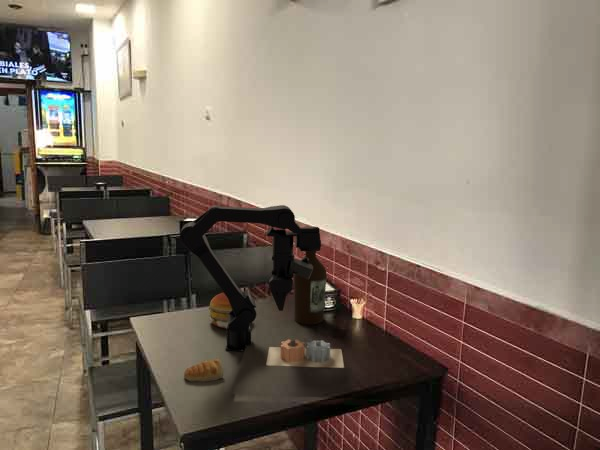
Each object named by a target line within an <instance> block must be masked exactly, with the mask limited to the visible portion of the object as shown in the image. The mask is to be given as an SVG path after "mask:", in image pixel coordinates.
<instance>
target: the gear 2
mask: <svg viewBox="0 0 600 450" xmlns="http://www.w3.org/2000/svg"><path fill="white" fill-rule="evenodd" d="M305 348H306V359H307V360H311V361H312V362H314V363H315V362H321V363H324V361H326V360H330V349H331V343H330V342H325V340H311V341H310V342H309V341H307V342H306V347H305Z"/></svg>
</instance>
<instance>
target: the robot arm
mask: <svg viewBox="0 0 600 450" xmlns="http://www.w3.org/2000/svg"><path fill="white" fill-rule="evenodd" d="M295 216H296V215H295V213H294V212H293V210H292V209H291V207H288V206H287V205H285V204H282V205H280V204H279V205H272V206H267V207H262V208H259V207H258V208H257V207H256V208H255V207H240V206H239V207H237V206H222V205H221V206H219V205H218V204H215V205H211V206H210V207H209V208H208V209H207V210H206V211H205V212H204V213H203V214H201V215H199V216H198V218H196V219H195V220H193V221H191V222H187V223H185V224H184V225H183V226H182V228H181V231H180V232H179V241H180V244H181V245H182V246H184V247H185V248H186V249H187V251H189V252H190V253H191V254H193V255H194V256H195V257H197V258H198V259H199V260H200V262H201V263H202V265H203V266H204V267H205V269H206V270H207V272H208V273H209V275H210V276H211V278H212V279H213V281H215V283H216V284H217V285H218V287H219V289H220V291H222V293H224V294H225V295H226V297H227V298H228V300H229V303H230V305H231V308H232V311H231V312H230V313H228V325H227V329H226V346H225V351H237V352H238V351H241V352H245V351H246V347H247V346H251V345H252V343H253V329H251V324H252V323H253V322H254V321H255V319H257V314H258V313H257V309H256V308H257V304H256V298H254V297H253V296H252V295H251V294H250V291H249V289H247V288H246V289H245V290H242V289H241V288H239V287H238V285H237V284H236V282H235V281H234V280H233V278H232V277H231V275H230V274H229V273H228V271H227V270H226V268H225V266H224V265H223V264H222V263H221V261H220V260H219V258H218V257H217V255H216V254H215V253H214V252H213V250H212V248H211V246H210V243H209V241H208V238H207V237H206V233H208V231H210V230H211V228H213V226H215V224H217V223H218V222H224V223H226V222H227V223H244V224H245V223H246V224H247V223H248V224H260V225H264V226H268V227H270V228H269V229H268V230H267V231H265V234H266V236H267V237H272V255H271V261H272V263H271V264H272V265H271V267H272V269H271V275H272V276H271V278H269V282H268V290H269V291H270V293H271V295H272V297H273V300H274V301H275V302H274V303H275V304H276V306H277V309H278V311H280V312H283V311H284V307H285V303H286V299H287V295H288V294H289V293H291V292H292V291H293V289H294V273H295V274H297V275H299V276H302V277H304V278H305V279H309V278H310V276H311V273H312V271H313V266H312V264H309V259H308V258H306V257H305V256H303V257H302V258H301V259H297V258H295V254H294V248H295V249H296V248H298V250H299V252H306V251H316V252H320V251H321V249H322V248H321V247H322V240H321V235H320V234H321V233H320V228H319V227H318V226H311V227H310V226H309V227H307V226H303V227H302V226H300V225H299V223H298V222H296V217H295ZM287 230H288V231H287ZM294 246H295V247H294Z"/></svg>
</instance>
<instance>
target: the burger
mask: <svg viewBox="0 0 600 450" xmlns="http://www.w3.org/2000/svg"><path fill="white" fill-rule="evenodd" d="M208 310H210V312H209V316H208V317H209V318H208V319H209V322H211V323H212V324H213V325H214V326H216V327H218V328H222V329H223V328H224V329H226V330H227V325H228V313H230V312H231V311H232V308H231V305H230V303H229V300H228V298H227V297H226V295H225V294H224V293H223V292H221V293H219V294H216V295H215V296H214V297H213V298H212V299H211V300H210V303H209V307H208Z"/></svg>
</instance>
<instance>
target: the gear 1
mask: <svg viewBox="0 0 600 450" xmlns="http://www.w3.org/2000/svg"><path fill="white" fill-rule="evenodd" d="M291 340H292V339H286V340H285V341H281V342H280V347H281V353H280V358H281V359H285V360H286V361H287V362H289V361H295V362H298V360H301V359H304V351H305V348H306V347H305V342H304V341H303V342H302V341H300V340H299V339H294V340H295V347H293V346H291Z"/></svg>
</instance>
